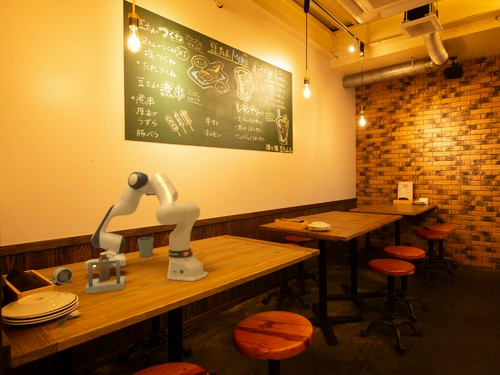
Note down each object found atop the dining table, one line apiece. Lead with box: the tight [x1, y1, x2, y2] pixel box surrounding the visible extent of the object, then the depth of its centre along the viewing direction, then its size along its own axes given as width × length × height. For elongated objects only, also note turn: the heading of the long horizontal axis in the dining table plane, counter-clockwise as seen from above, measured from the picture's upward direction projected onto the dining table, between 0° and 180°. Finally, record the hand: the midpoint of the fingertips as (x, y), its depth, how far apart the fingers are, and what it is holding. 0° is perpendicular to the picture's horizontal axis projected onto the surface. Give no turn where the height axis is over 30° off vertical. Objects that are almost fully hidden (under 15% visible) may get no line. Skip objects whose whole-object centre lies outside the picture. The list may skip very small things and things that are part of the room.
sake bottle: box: [98, 251, 111, 282], centre depth 164 cm, size 5×5×14 cm
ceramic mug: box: [48, 267, 74, 285], centre depth 160 cm, size 11×8×8 cm
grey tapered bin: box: [137, 237, 154, 258], centre depth 214 cm, size 10×10×12 cm
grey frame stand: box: [84, 260, 126, 295], centre depth 152 cm, size 12×16×14 cm
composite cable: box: [55, 309, 83, 327], centre depth 118 cm, size 10×5×2 cm, turn 155°
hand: (103, 266), depth 164 cm, fingers open, 8 cm apart
